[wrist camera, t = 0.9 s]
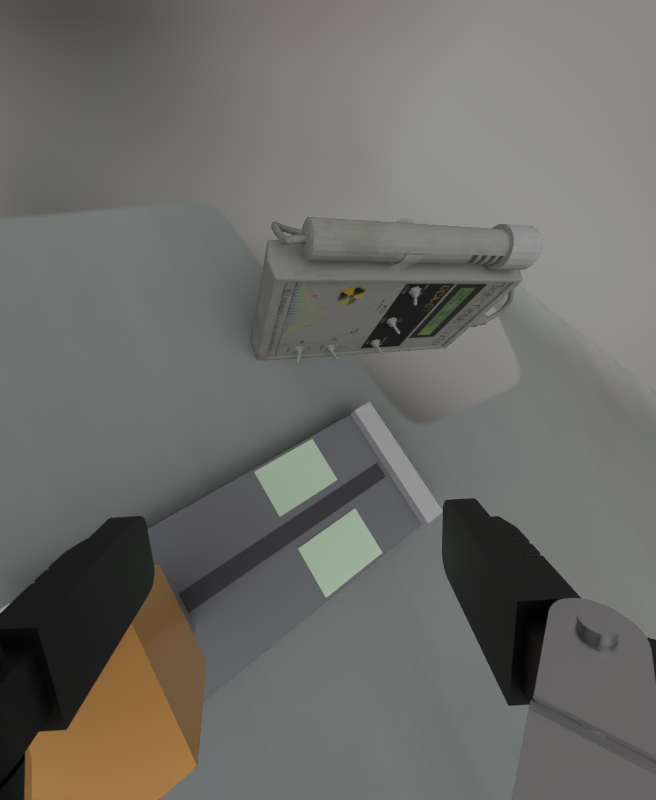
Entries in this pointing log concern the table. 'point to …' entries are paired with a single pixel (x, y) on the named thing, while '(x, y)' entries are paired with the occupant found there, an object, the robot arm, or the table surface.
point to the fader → (132, 714)
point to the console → (288, 537)
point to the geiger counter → (383, 285)
